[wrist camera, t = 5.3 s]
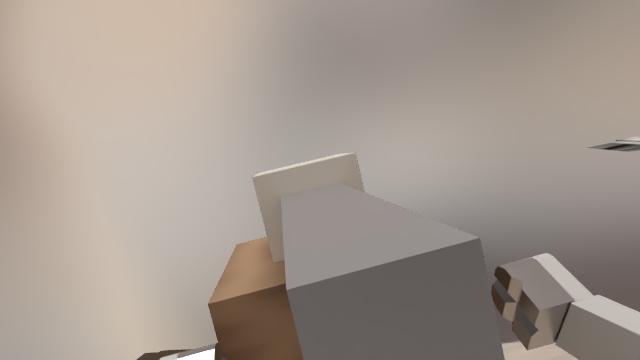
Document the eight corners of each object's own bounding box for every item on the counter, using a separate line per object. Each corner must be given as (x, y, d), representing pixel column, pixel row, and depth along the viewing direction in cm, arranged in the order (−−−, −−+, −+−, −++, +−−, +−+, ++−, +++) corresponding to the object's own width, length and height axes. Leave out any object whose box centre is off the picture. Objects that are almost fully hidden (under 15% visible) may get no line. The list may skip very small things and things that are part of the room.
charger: (263, 501, 6) (189, 222, 6) (274, 240, 27) (258, 173, 27) (578, 400, 7) (528, 138, 7) (354, 219, 28) (339, 153, 27)
